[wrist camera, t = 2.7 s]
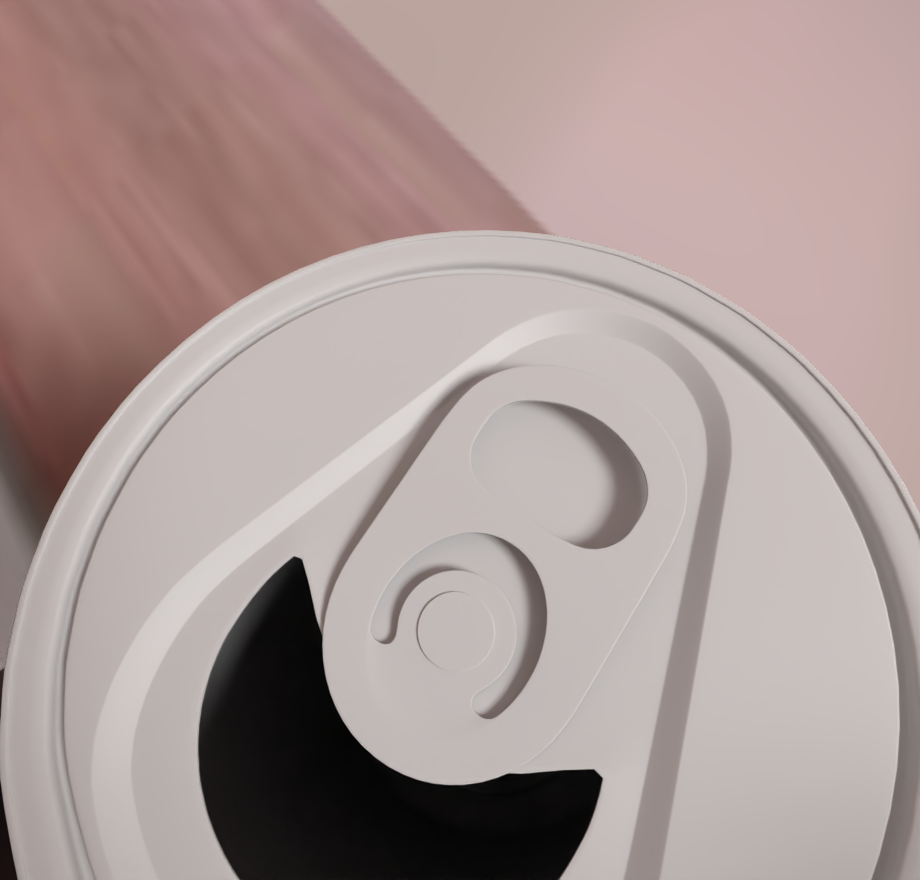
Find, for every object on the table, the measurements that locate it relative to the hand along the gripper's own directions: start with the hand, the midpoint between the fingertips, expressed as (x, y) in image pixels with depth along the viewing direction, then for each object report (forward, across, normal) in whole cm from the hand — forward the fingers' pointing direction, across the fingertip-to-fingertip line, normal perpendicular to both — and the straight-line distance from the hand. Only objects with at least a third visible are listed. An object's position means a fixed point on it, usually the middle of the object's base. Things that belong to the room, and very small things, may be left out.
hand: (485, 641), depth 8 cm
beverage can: (+6, 0, +6) cm, 8 cm away
